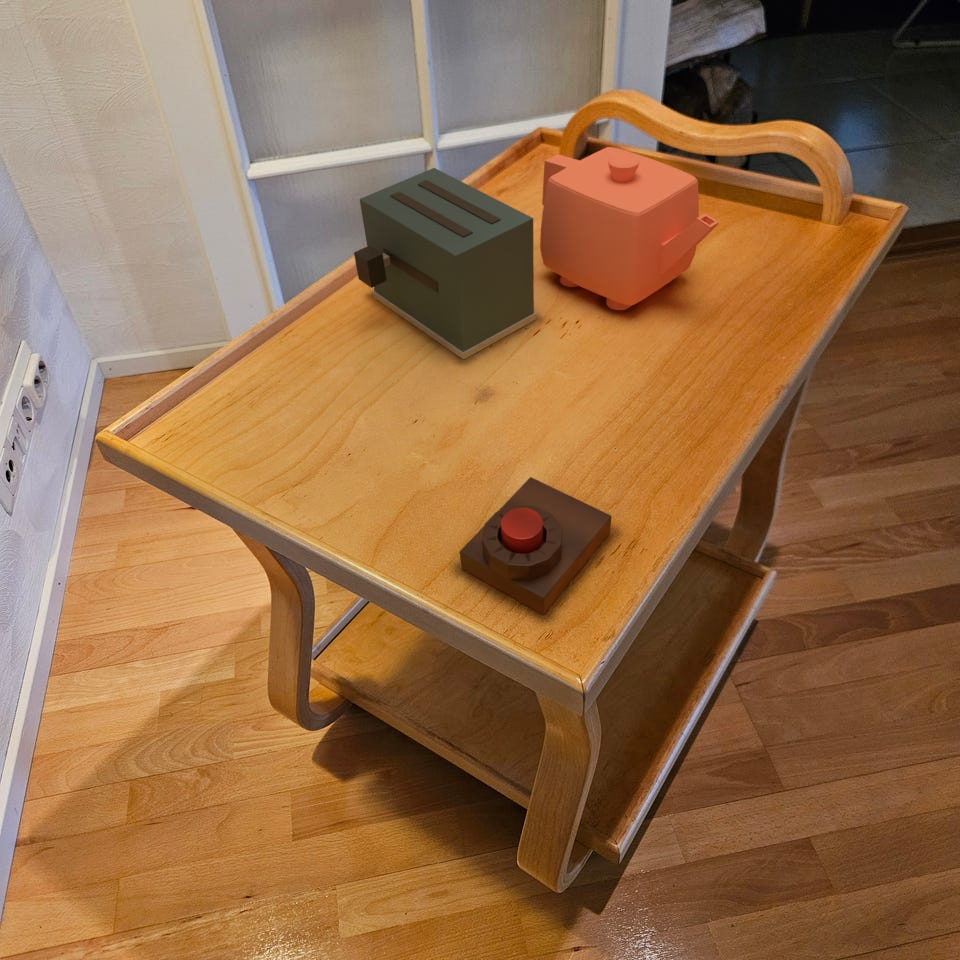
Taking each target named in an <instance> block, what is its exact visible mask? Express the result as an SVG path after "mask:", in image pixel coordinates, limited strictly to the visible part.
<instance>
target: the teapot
mask: <svg viewBox="0 0 960 960" xmlns="http://www.w3.org/2000/svg"><path fill="white" fill-rule="evenodd" d="M543 163H544V168H543V181H542V183H543V185H542V199H541V203H542V204H541V205H542V206H543V208H542V215H541V224H540V235H539V236H540V238H539V240H540V241H539V249H540V254H541V259H542V262H543V265H544V266H545V267H546V268H548V269H549V270H551V271H552V272H554V273H556V274H558V275H559V276H561V277H560V278H559V283H560V284H561V285H562V286H564V287H568V288H577V287H581V288H583V289H585V290H588V291H590V292H592V293H595V294H597V295H599V296H601V297H604V298H606V301H605V305H606V306H607V308H609V309H611V310H615V311H625V310H628V309H629V308H631V307H632V306H634V305H636V304H638V303H639V302H641V301H643V300H644V299H647V298H648V297H649V296H651V295H653V294H654V293H656V292H657V291H659V290H660V289H662V288H663V287H664V286H666V285H667V284H669V283H671V282H672V281H673V280H675V279H677V278H678V277H679V276H680V275H682V274H683V273H685V272H686V271H687V270H688V269H689V268H690V267H691V265H692V262H693V260H694V257H695V255H696V250H697V246H698V245H699V244H701V242H702V241H703V240H704V239H705V238H706V237H707V236H708V235H709V234H710V233H711V232H712V231H713V230H714V229H715V228H716V227H717V226H718V225H719V223H720V221H718V220H717V219H715V218H714V217H712V216H710V215H709V214H707V213H706V212H704V213H703V214H701V215H700V201H699V199H700V197H699V180H698V179H697V177H695V176H694V175H692V174H691V173H688V172H685V171H683V170H681V169H679V168H676V167H674V166H671V165H668V164H666V163H663V162H661V161H658V160H655V159H652V158H651V157H647V156H645V155H641V154H637V153H634V152H631V151H628V150H625V149H622V148H617V147H613V146H606V147H604V148H602V149H600V150H599V151H596V152H594V153H592V154H591V155H588V156H586V157H584V158H582V159H580V160H579V159H576V158H572V157H569V156H567V155H562V154H560V153H558V154H556V155H553V156H551V157H549V158H547V159H545V160H544V162H543Z"/></svg>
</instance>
